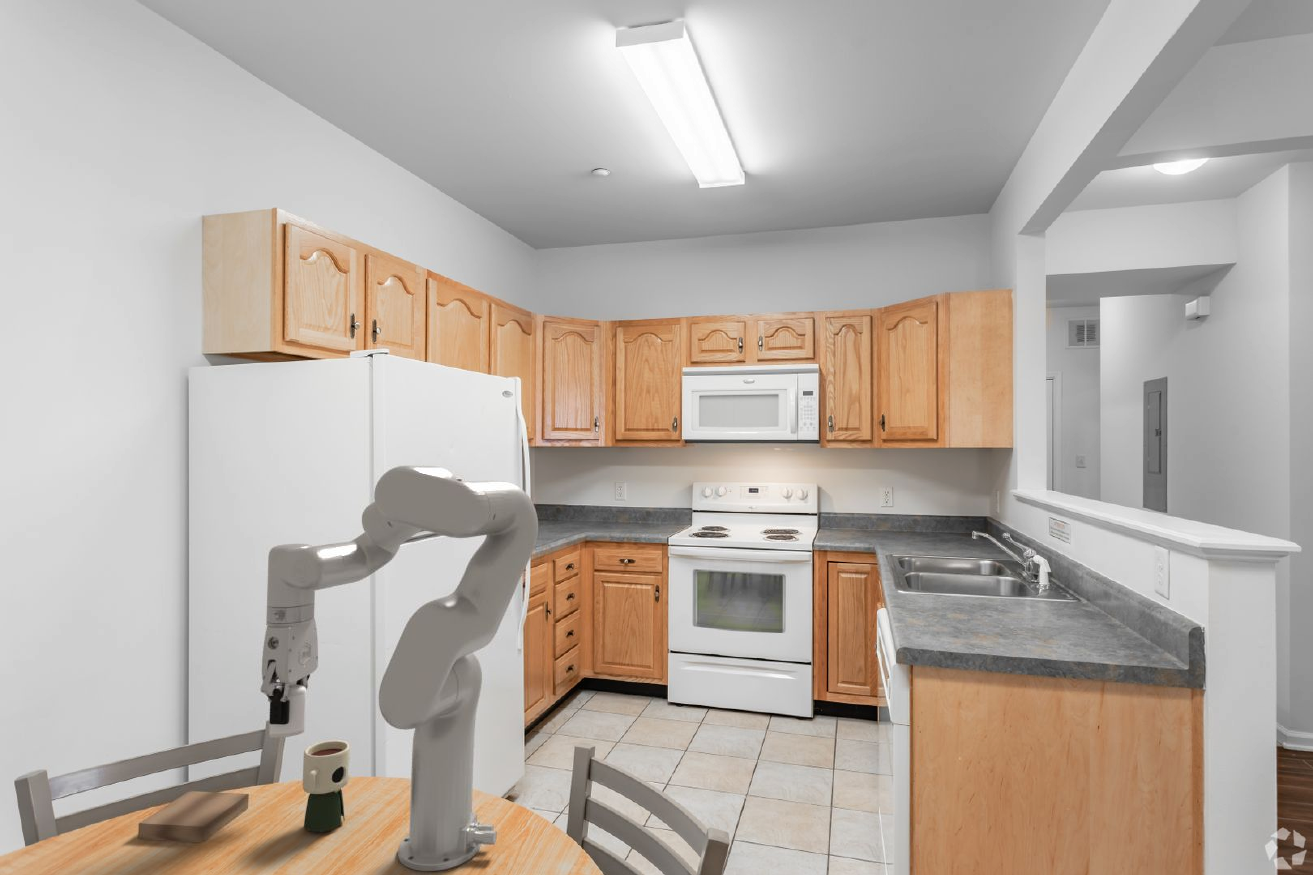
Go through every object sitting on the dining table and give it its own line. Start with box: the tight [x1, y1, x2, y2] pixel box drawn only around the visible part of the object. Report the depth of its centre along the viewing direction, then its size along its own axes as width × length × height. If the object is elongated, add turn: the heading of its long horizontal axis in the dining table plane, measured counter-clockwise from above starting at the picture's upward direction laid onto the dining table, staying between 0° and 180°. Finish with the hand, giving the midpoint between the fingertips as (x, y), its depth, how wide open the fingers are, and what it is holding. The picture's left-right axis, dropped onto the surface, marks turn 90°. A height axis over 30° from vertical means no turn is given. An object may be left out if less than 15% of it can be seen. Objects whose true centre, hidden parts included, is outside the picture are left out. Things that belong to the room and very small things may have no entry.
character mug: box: [302, 739, 351, 833], centre depth 114 cm, size 11×7×13 cm, turn 0°
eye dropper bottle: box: [268, 681, 307, 739], centre depth 120 cm, size 4×6×12 cm
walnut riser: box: [137, 790, 250, 843], centre depth 114 cm, size 11×11×2 cm
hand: (287, 717), depth 119 cm, fingers closed on eye dropper bottle, 4 cm apart
